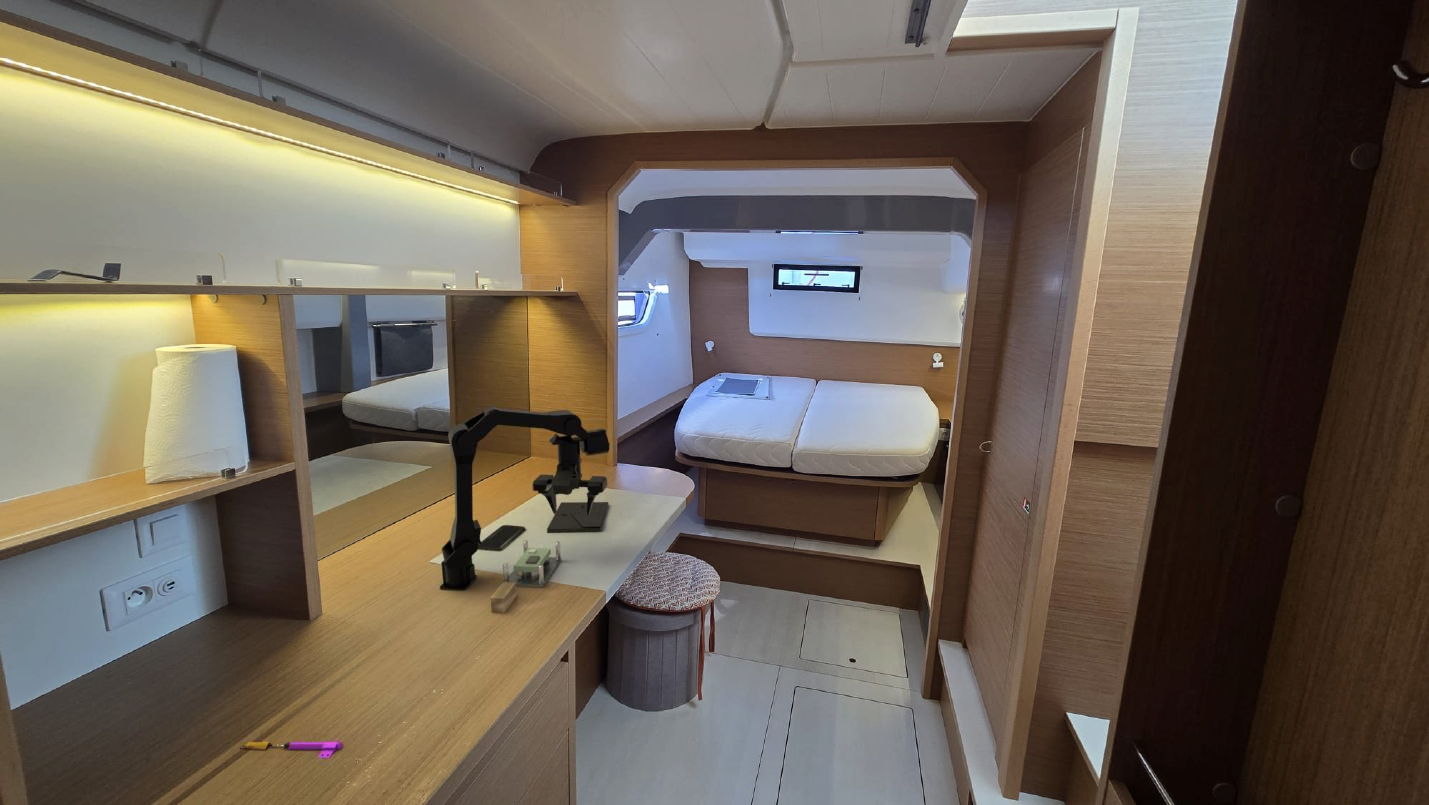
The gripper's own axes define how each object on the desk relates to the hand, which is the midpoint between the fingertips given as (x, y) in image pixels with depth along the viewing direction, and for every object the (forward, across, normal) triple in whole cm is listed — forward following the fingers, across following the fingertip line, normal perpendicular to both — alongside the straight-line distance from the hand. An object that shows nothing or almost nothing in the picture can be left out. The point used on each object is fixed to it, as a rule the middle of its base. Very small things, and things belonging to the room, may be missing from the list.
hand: (571, 513), depth 149 cm
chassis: (+12, -8, -10) cm, 17 cm away
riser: (+12, -9, -24) cm, 29 cm away
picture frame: (+14, -6, +25) cm, 29 cm away
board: (+10, -8, -10) cm, 15 cm away
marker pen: (+13, -26, -67) cm, 73 cm away
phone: (+13, -24, +9) cm, 29 cm away
